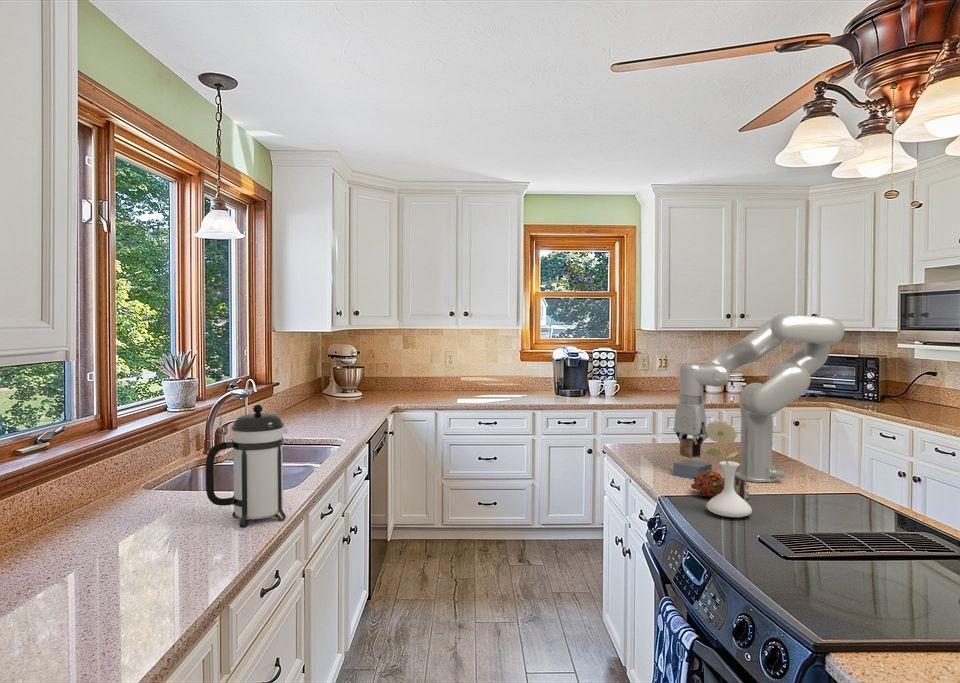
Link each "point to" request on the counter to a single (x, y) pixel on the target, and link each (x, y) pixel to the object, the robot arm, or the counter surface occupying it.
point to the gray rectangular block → (690, 468)
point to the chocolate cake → (741, 488)
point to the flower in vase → (726, 474)
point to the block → (687, 447)
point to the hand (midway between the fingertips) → (690, 453)
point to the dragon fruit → (709, 483)
